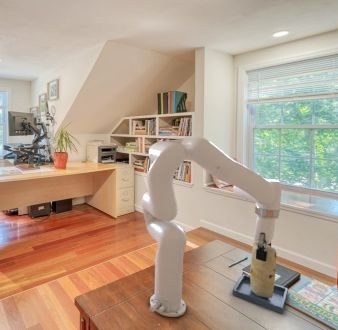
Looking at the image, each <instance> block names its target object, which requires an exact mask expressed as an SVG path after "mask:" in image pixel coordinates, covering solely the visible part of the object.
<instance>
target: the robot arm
mask: <svg viewBox="0 0 338 330" xmlns="http://www.w3.org/2000/svg"><path fill="white" fill-rule="evenodd" d="M148 158H149V160H150V162H152V163H151V164H150V167H149V168H148V172H147V175H146V183H147V191H146V192H144V193H143V196H142V199H141V208H142V213H143V218H144V221H145V222H144V223H145V226H146V230H147V232H148V234H149V236H151V238H152V239H153V240H155V242H156V243H157V244H158V245H157V250H156V253H155V260H154V294H153V295H151V297H150V299H149V304H150V306H149V311H150V312H152V313H154V312H156V313H157V314H159V315H161V316H164V317H167V318H177V317H180V316H183V315H184V314H185V312H186V309H187V305H186V302H185V301H184V300H183V298H182V297H183V274H184V273H183V272H184V255H185V250H186V247H187V242H188V238H187V235H186V232H185V231H184V228H182V227H181V226H180V225H179V224H177V223H175V222H174V220H175V219H176V217H177V215H178V210H179V209H178V203H177V197H176V193H175V188H174V187H175V186H174V176H175V173H176V171H178V169H179V168H180V166H182V164H183V163H184V161H191V162H194V163H196V164H197V165H198V166H199V167H201V168H202V169H203V170H204V171H206V172H207V173H208V174H210V175H211V176H212V177H213V178H215V179H216V180H219V181H221V182H223V183H226V184H228V185H231V186H232V187H233V188H232V190H233V193H234V194H235V195H236V196H237V197H239V198H241V199H244V200H248V201H249V202H250V201H251V202H253V203H255V206H254V215H255V216H256V221H255V226H254V228H255V229H254V234H253V241H254V242H258V245H257V250H256V259H258V260H261V261H266V258H267V251H266V248H267V245H269V246H271V247H272V241H273V238H274V232H275V225H276V220H277V219H280V213H281V212H280V210H281V198H282V189H283V184H282V182H281V181H280V180H278V179H271V178H265V177H264V176H262V175H261V174H259V173H258V172H256V171H255V170H253V169H251V168H249V167H247V166H245V165H244V164H242V163H240V162H238V161H236V160H235V159H233V158H231V156H229V155H227V153H225V152H224V151H223V150H221V149H220V148H219V147H217V145H215V144H214V143H213V142H211V141H210V140H208V139H207V138H204V137H184V138H176V139H170V140H162V141H157V142H154V143H153V144H152V145H151V146H150V147H149V149H148ZM263 244H264V245H265V246H264V245H263Z"/></svg>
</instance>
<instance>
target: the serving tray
mask: <svg viewBox="0 0 338 330" xmlns="http://www.w3.org/2000/svg"><path fill="white" fill-rule="evenodd" d="M288 294H289V288H288V287H284V286H283V285H278V284H274V290H273V297H272V298H265V297H261V296H258V295H256V294H254V293H253V292H252V289H251V280H250V275H247V274H245V273H242V275H241V277H240V278H239V280H238V281H237V283H236V285H235V286H234V288H233V289H232V296H234V297H236V298H240V299H242V300H244V301H246V302H247V301H248V302H250V303H251V304H255V305H257V306H260V307H262V308H265V309H268V310H270V311H273V312H275V313H278V314H281V315H283V311H284V308H285V305H286V301H287V297H288Z"/></svg>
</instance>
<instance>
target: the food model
mask: <svg viewBox="0 0 338 330" xmlns="http://www.w3.org/2000/svg"><path fill="white" fill-rule="evenodd" d="M257 245H258V241H256V242H255V241H254V243H253V245H252V250H251V251H252V252H251V259H250V271H249V272H250V273H249V276H250V280H251V289H252V292H253V293H254V294H256V295H258V296H261V297H265V298H272V297H273V290H274V284H275V283H276V273H277V272H276V270H277V250H276V249H275V248H274V247H272V245H271V246H269V245H267V248H266V251H267V258H266V261H261V260H258V259H256V250H257ZM263 245H264V244H263ZM264 246H265V245H264Z"/></svg>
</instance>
